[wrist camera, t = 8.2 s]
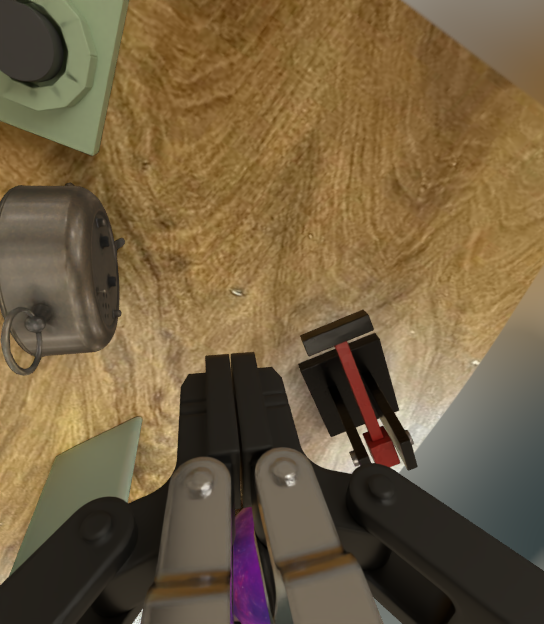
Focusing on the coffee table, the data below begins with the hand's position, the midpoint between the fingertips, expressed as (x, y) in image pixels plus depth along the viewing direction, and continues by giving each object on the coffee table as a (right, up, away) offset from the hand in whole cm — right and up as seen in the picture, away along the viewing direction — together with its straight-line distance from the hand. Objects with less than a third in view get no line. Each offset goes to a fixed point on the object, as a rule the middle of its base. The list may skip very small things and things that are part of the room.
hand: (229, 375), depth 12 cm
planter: (-20, -15, +32) cm, 40 cm away
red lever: (+9, -5, +24) cm, 26 cm away
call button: (-13, +17, +10) cm, 23 cm away
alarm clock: (-13, +8, +19) cm, 24 cm away
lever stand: (+10, -7, +32) cm, 34 cm away
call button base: (-13, +19, +12) cm, 26 cm away
